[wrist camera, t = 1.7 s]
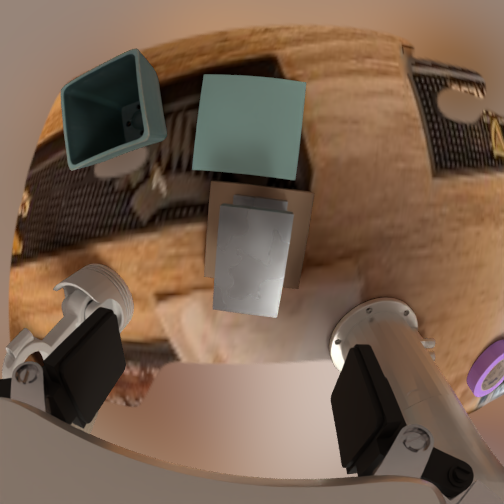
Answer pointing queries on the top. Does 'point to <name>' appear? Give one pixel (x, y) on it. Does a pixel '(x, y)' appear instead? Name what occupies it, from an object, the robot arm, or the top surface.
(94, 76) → the flower pot
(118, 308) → the engine component
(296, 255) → the stand
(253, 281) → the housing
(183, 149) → the top surface
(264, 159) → the stand
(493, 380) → the masking tape
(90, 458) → the robot arm
